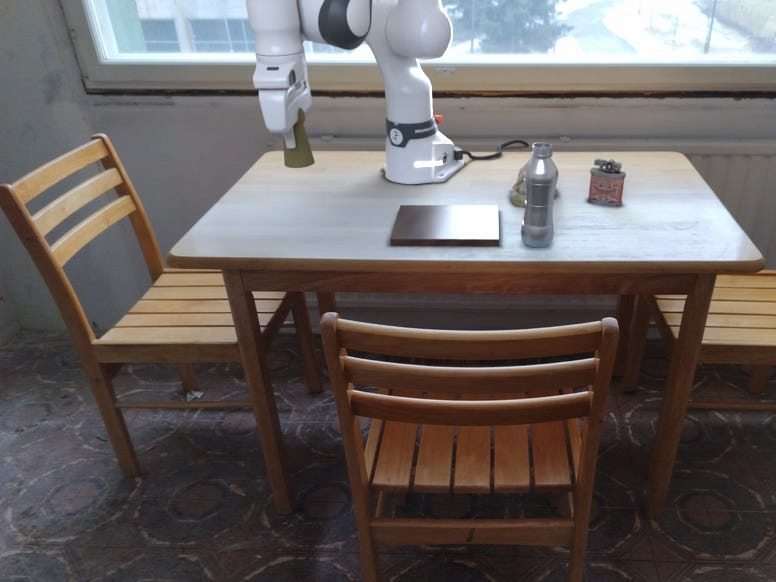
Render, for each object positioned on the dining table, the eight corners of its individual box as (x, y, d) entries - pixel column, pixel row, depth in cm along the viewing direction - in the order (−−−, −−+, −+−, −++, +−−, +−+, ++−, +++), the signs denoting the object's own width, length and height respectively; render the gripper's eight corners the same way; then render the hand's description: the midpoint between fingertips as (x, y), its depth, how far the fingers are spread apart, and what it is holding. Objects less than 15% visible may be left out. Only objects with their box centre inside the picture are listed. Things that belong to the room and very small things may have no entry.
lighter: (623, 203, 151) (629, 160, 145) (619, 208, 148) (625, 164, 142) (589, 198, 153) (594, 155, 148) (585, 202, 151) (589, 160, 145)
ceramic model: (514, 184, 161) (515, 143, 155) (559, 187, 159) (562, 146, 153) (504, 205, 149) (505, 162, 144) (553, 209, 148) (556, 165, 142)
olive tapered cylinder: (307, 169, 129) (297, 111, 123) (279, 167, 130) (268, 110, 124) (319, 159, 134) (310, 103, 128) (292, 157, 135) (282, 102, 129)
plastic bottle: (518, 238, 135) (521, 140, 123) (550, 237, 135) (557, 139, 124) (522, 251, 130) (526, 151, 118) (556, 250, 130) (563, 150, 119)
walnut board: (498, 212, 146) (498, 205, 145) (499, 246, 132) (499, 239, 131) (400, 211, 147) (400, 204, 146) (390, 246, 132) (389, 238, 131)
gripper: (281, 56, 130) (294, 127, 138) (249, 81, 114) (265, 159, 122) (313, 56, 130) (323, 127, 138) (284, 80, 113) (298, 159, 122)
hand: (296, 142), depth 130 cm, fingers closed on olive tapered cylinder, 4 cm apart
